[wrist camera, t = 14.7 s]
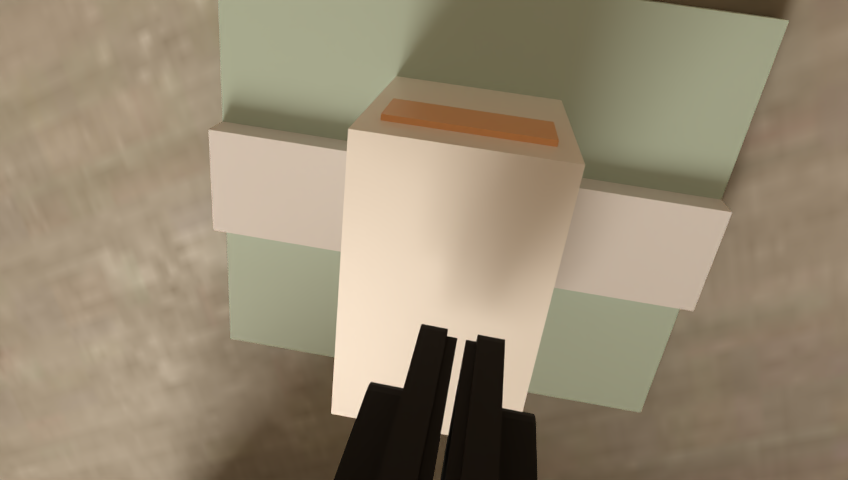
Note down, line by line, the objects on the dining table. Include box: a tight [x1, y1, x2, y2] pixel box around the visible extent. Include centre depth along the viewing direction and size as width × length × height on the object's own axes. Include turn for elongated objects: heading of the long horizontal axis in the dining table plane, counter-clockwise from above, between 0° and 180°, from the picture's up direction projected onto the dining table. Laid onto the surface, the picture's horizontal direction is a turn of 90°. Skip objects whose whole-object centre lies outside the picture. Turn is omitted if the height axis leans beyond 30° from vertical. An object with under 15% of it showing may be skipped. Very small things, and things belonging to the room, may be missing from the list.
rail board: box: [209, 0, 789, 413], centre depth 19 cm, size 16×14×2 cm
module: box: [331, 76, 585, 435], centre depth 17 cm, size 5×8×6 cm, turn 173°
